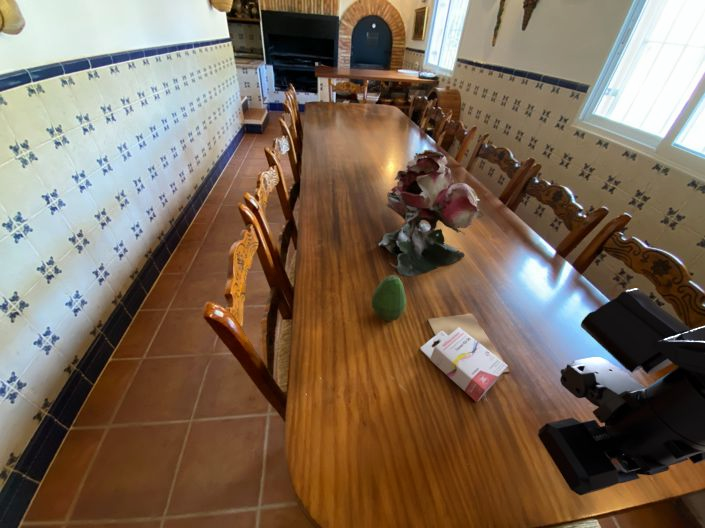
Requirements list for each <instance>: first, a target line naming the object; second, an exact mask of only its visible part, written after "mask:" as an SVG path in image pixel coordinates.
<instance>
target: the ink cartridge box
mask: <svg viewBox="0 0 705 528" xmlns="http://www.w3.org/2000/svg"><path fill="white" fill-rule="evenodd" d="M438 340H440V341H441V342H440V343H437V344H436V345H435V346H433V345H434V343H435V342H438ZM420 351H421V352H422V353H423V354H424V355H425V356H426V357H427V358H428V359H429V361H430V362H432V364H433V365H435V367H437V368H438V369H440V371H441V372H442V373H444V374H445V375H446V376H447V378H449V379H450V380H451V381H452V382H454V384H456V385H457V386H458V387H459V388H460V389H461V390H462V391H464V393H465V394H467V395H468V396H469V397H470V398H471V399H472V400H473V401H475V402H476V403H478V402H479V401H480V400H481V399H482V397H484V396H485V394H486V393H487V392H488V391H489V390H490V389H491V388H492V386H493V385H494V384H495V383H496V382H497V381H498V379H500V377H501V376H502V374H504V373H503V372H504V370H505V369H506V368H507V367H508V366H509V365H508V364H506V363H505V361H504V360H503V361H504V362H503V361H501V360H500V359H499V358H498V357H496V356H495V355H494V354H493V353H491V352H490V351H489V350H487V349H486V348H485V347H484V346H482V345H481V344H480V343H478V342H477V341H476V340H475V339H473V338H472V337H471V336H469V335H468V334H467V333H466V332H464V331H463V330H462V329H461V328H459V327H458V328H457V329H456V330H454V331H453V332H452V333H451V334H450V335H449V336H448V335H447V334H446V333H445V332H443V331H440V332H439V333H438V334H437V335H433V337H432V338H430V339H429V340H428V341H426V343H424V344H423V345H422V346H420Z"/></svg>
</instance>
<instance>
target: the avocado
mask: <svg viewBox="0 0 705 528" xmlns="http://www.w3.org/2000/svg"><path fill="white" fill-rule="evenodd" d="M406 303H407V296H406V291H405V288H404V284H403V281H402V280H401V279H400V277H399V276H397V275H396V274H389V275H387V276H385V278H384V279H383V280H382V281H381V282H380V283H379V284H378V286H377V287H376V288H375V289H374V291H373V294H372V298H371V307H372V310H373V312H374V313H375V314H376V315H377V317H379V318H380V319H381V320H383V321H385V322H386V321H387V322H392V321H396V320H398V319H399V318H400V317H401V316H402V315H403V313H404V312H405V310H406V305H407V304H406Z"/></svg>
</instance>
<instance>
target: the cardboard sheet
mask: <svg viewBox="0 0 705 528" xmlns="http://www.w3.org/2000/svg"><path fill="white" fill-rule="evenodd" d="M426 319H427V323H428V325H429V327H430V329H431V331H432V333H433V336H435V335H437V334H438V333H439V332H440V331H443V332H445V333H446V334H447V335H448V336H449V335H450V334H451V333H452V332H453V331H454V330H456V329H457V328H458V327H459V328H461V329H462V330H463V331H464V332H466V333H467V334H468V335H469V336H471V337H472V338H473V339H475V340H476V341H477V342H478V343H480V344H481V345H482V346H484V347H485V348H486V349H487V350H489V351H490V352H491V353H493V354H494V355H495V356H496V357H498V358H499V359H500V360H501V361H503V362H504V363H505V361H504V360H503V358H502V356H501V355H500V354H499V352H498V350H497V349H496V347H495V346H494V345H493V343H492V341H491V340H490V339H489V337H488V335H487V334H486V331H484V329H483V328H482V326H481V324H480V323H479V322H478V320H477V319H476V318H475V316H474V314H473V313H465V314H456V315H455V314H454V315H448V316H441V317H431V318H426ZM440 342H441V341H440V340H438V341H437V344H439V343H440ZM507 373H510V369H509V367H508V366H507V368H506V369H505V370H504V372H503V373H502V374H507Z"/></svg>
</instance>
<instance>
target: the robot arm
mask: <svg viewBox="0 0 705 528" xmlns="http://www.w3.org/2000/svg"><path fill="white" fill-rule="evenodd" d="M580 328H582V330H583V331H585V332H586V333H587V334H588V335H589V336H590V337H591V338H592V339H593V340H594V341H595V342H597V343H598V344H599V346H601V347H602V348H603V349H604V350H605V351H606V352H607V353H608V354H610V356H612V357H613V359H615V360H616V361H617V363H619V364H620V365H621V366H622V367H623V368H624V369H625V370H626V371H629V372H630V373H632V374H633V373H635V372H637V371H639V370H640V369H641V370H642V371H644V373H645V374H646V375H651V374H654V373H656V372H659V371H661V370H663V369H665V368H666V367H668V366H670V365H672V364H673V365H675V366H677V367H676V368H674V369H673V370H671V371H669V372H668V373H666V374H665V375H663V376H662V377H661V378H659V379H658V380H656V381H654V382H653V383H652V384H650V385H648V386H647V387H645V386H643V385H642V384H641V383H639V382H638V380H637V379H636V378H635V377H634V376H632V375H630V374H629V373H627V372H626V371H624V370H623V369H622V368H620V367H618V366H617V365H615V364H614V363H612V362H611V361H609V360H608V359H605V358H603V357H600V356H592V357H586V358H580V359H574V360H573V361H572V363H567V364H566V366H565V368H561V370H560V374H561V375H560V377H559V381H560V384H561V386H562V387H563V388H565V389H566V390H567V391H568V392H569V393H570V394H572V395H573V396H574V397H575V398H577V399H584V398H585V399H586V400H587V401H589V402H590V403H591V404H592V405H594V406H595V407H597V408H595V409H593V411H592V413H593V414H592V415H594V416H595V418H596V419H597V420H596V419H595V418H594V419H590V420H585V421H580V420H577V419H575V418H574V417H568V418H564V419H560V420H559V419H558V420H554V421H550V422H546V423H545V424H544V425H543V426H541V427H540V428H539V429H538V431H537V437H538V438H539V440H540V441H541V443H542V445H543V447H544V448H545V449H546V451H547V453H548V455H549V456H550V458H551V460H552V461H553V463H554V465H555V466H556V468H557V469H558V471H559V473H560V474H561V476H562V477H563V479H564V481H565V483H566V484H567V486H568V488H569V490H570V491H572V492H573V493H575V494H576V495H578V496H584V495H588V494H590V493H595V492H598V491H602V490H604V489H607V488H610V487H614V486H615V485H618V484H625V483H628V482H631V481H635V480H640V479H641V477H640V476H639V475H641V476H642V475H643V476H653V475H656V474H657V475H658V474H661V473H664V472H668V471H669V469H670V466H674V465H677V464H682V463H684V462H686V461H688V460H689V461H690V462H691V463H692V464H693V465H696V464H699V463H704V462H705V325H703V326H699V327H696V328H692V329H691V328H690V327H689V326H687V325H686V324H684V322H682V321H680V320H679V319H678V318H676V317H675V316H674V315H672V313H669V312H668V311H666V310H665V309H664V308H663V307H661V306H659V305H658V304H657V303H656V302H655V301H653V299H652V298H651V297H650V296H649V295H648V294H646V293H645V292H643V291H642V290H640V289H639V288H631V289H627V290H624V291H621V292H620V293H619V295H617V297H615V298H613V299H611V300H609V301H608V302H605V303H604V304H602V305H601V306H599V307H598V308H597V309H596V310H593V311H590V312H589V313H587V315H585V317H583V319H582V321H581V323H580ZM597 421H598V422H597ZM599 423H600V424H604V425H603V426H601V425H600V424H599Z"/></svg>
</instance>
